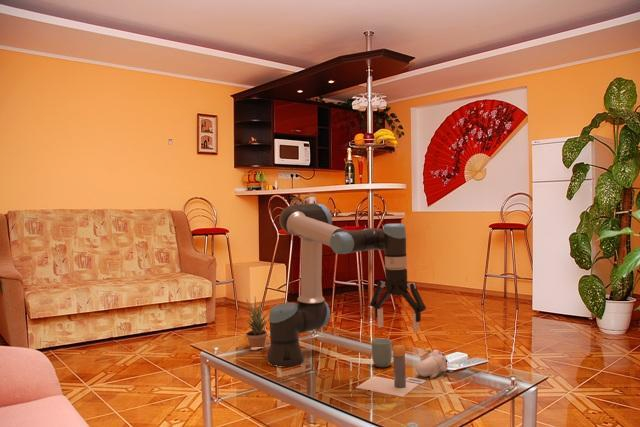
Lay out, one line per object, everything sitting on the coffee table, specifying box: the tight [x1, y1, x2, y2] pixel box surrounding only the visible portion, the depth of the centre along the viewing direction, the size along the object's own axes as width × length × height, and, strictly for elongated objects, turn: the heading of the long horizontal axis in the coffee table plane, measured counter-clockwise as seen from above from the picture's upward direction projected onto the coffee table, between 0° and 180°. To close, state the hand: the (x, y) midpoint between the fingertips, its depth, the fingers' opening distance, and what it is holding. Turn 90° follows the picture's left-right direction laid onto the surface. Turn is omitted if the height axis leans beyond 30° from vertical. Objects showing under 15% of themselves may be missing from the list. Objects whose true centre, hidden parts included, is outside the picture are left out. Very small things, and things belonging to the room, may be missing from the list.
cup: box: [371, 337, 393, 368], centre depth 208 cm, size 8×8×10 cm
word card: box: [406, 376, 427, 385], centre depth 191 cm, size 7×4×1 cm, turn 56°
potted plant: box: [245, 297, 268, 348], centre depth 239 cm, size 10×10×25 cm
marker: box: [392, 344, 407, 388], centre depth 185 cm, size 4×4×14 cm
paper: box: [355, 375, 420, 398], centre depth 186 cm, size 18×13×1 cm
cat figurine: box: [415, 349, 449, 379], centre depth 197 cm, size 10×8×15 cm
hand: (398, 329), depth 185 cm, fingers open, 13 cm apart
